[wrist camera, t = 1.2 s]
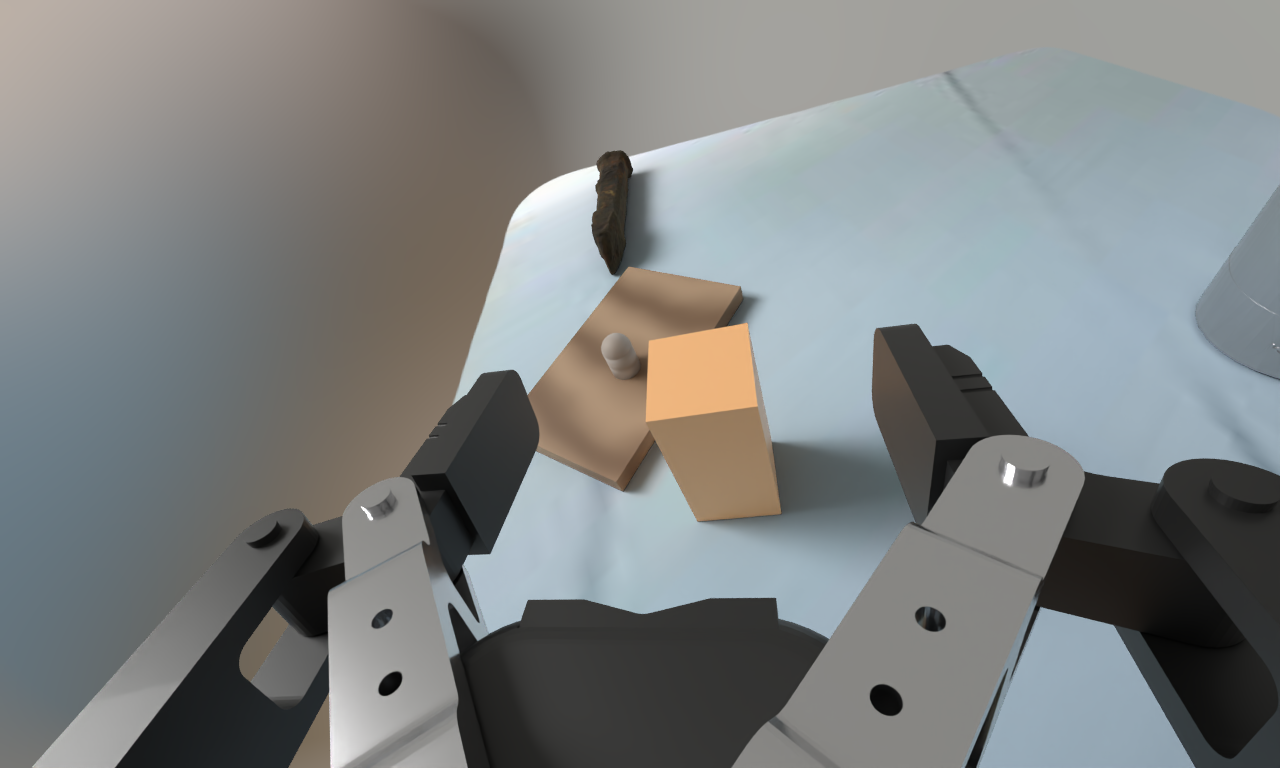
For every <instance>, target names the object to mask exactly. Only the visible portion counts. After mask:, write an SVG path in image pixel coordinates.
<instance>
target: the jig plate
mask: <svg viewBox="0 0 1280 768" xmlns="http://www.w3.org/2000/svg"><path fill="white" fill-rule="evenodd" d="M742 300H743V296H742V291H741V287H740V286H735V285H729V284H723V283H718V282H712V281H707V280H701V279H695V278H690V277H684V276H678V275H673V274H667V273H662V272H656V271H650V270H645V269H639V268H634V267H628V268H627V269H626V270H625V272H624V273H623V274H622V276H621V277H620V278H619V279H618V281H617V282H616V283H615V285H614V286H613V287H612V288H611V290H610V291H609V292H608V293H607V295H606V296H605V297H604V299H603V300H602V301H601V302H600V304H599V305H598V306H597V307H596V309H595V310H594V311H593V313H592V314H591V315H590V316H589V318H588V319H587V320H586V322H585V323H584V324H583V325H582V327H581V328H580V329H579V330H578V332H577V333H576V334H575V336H574V337H573V338H572V339H571V341H570V342H569V343H568V344H567V346H566V347H565V348H564V350H563V351H562V352H561V353H560V355H559V356H558V357H557V359H556V360H555V361H554V362H553V364H552V365H551V366H550V367H549V369H548V370H547V371H546V373H545V374H544V375H543V376H542V378H541V379H540V380H539V381H538V383H537V384H536V385H535V387H534V388H533V389H532V390H531V392H530V393H529V394H528V398H529V401H530V403H531V406H532V408H533V411H534V413H535V416H536V418H537V421H538V424H539V433H540V436H539V443H538V447H537V449H536V451H537V452H539V453H541V454H544V455H546V456H548V457H550V458H552V459H554V460H556V461H558V462H561V463H563V464H565V465H567V466H569V467H571V468H573V469H576V470H578V471H580V472H582V473H584V474H586V475H588V476H591V477H593V478H595V479H597V480H599V481H601V482H603V483H605V484H608V485H610V486H612V487H614V488H616V489H618V490H620V491H624V489H625V488H626V486H627V484H628V483H629V481H630V480H631V478H632V476H633V475H634V473H635V472H636V470H637V468H638V467H639V465H640V464H641V462H642V460H643V459H644V457H645V456H646V454H647V452H648V451H649V449H650V448H651V446H652V444H653V443H654V441H655V439H654V437H653V435H652V433H651V431H650V429H649V428H648V426H647V424H646V399H647V373H648V348H649V341H650V340H656V339H661V338H667V337H672V336H678V335H683V334H689V333H694V332H700V331H705V330H711V329H717V328H722V327H726V326H727V324H728V323H729V321H730V320H731V318H732V316H733V315H734V313H735V312H736V310H737V308H738V307H739V305H740V304H741V302H742Z"/></svg>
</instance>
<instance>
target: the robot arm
mask: <svg viewBox="0 0 1280 768" xmlns="http://www.w3.org/2000/svg"><path fill="white" fill-rule="evenodd" d="M1195 316H1196V320H1197V324H1198V327H1199V329H1200V330H1201V332H1202V333H1203V335H1204V336H1205V338H1206V339H1207V340H1208V341H1209V342H1210V343H1211V344H1212V345H1214V346H1215V347H1216V348H1217V349H1218V350H1219V351H1221V352H1222V353H1224V354H1225V355H1227V356H1228V357H1230V358H1231V359H1233V360H1234V361H1236V362H1238V363H1240V364H1242V365H1244V366H1246V367H1248V368H1251V369H1253V370H1255V371H1258V372H1260V373H1263V374H1266V375H1269V376H1272V377H1275V378H1278V379H1280V184H1279V186H1278V187H1277V189H1276V190H1275V192H1274V193H1273V194H1272V196H1271V197H1270V199H1269V200H1268V202H1267V203H1266V205H1265V206H1264V207H1263V209H1262V210H1261V212H1260V213H1259V215H1258V216H1257V217H1256V219H1255V220H1254V222H1253V223H1252V225H1251V226H1250V227H1249V229H1248V230H1247V232H1246V233H1245V235H1244V236H1243V237H1242V239H1241V240H1240V242H1239V243H1238V245H1237V246H1236V247H1235V248H1234V250H1233V251H1232V253H1231V254H1230V255H1229V257H1228V258H1227V260H1226V261H1225V263H1224V264H1223V266H1222V267H1221V268H1220V270H1219V271H1218V273H1217V274H1216V276H1215V277H1214V279H1213V280H1212V281H1211V283H1210V284H1209V286H1208V287H1207V289H1206V290H1205V292H1204V293H1203V294H1202V296H1201V298H1200V299H1199V301H1198V303H1197V305H1196V312H1195ZM872 400H873V408H874V413H875V417H876V420H877V423H878V426H879V428H880V431H881V433H882V436H883V439H884V441H885V444H886V446H887V449H888V452H889V454H890V457H891V459H892V462H893V465H894V467H895V470H896V472H897V475H898V478H899V480H900V483H901V485H902V488H903V491H904V493H905V496H906V498H907V501H908V504H909V506H910V509H911V511H912V514H913V517H914V519H915V522H916V523H914V522H910V523H908V524H907V525H906V526H905V527H904V528H903V530H902V531H901V532H900V534H899V535H898V537H897V538H896V540H895V541H894V543H893V544H892V546H891V547H890V549H889V550H888V552H887V553H886V555H885V556H884V558H883V559H882V561H881V562H880V564H879V565H878V567H877V569H876V570H875V572H874V573H873V575H872V576H871V578H870V579H869V581H868V582H867V584H866V585H865V587H864V588H863V590H862V591H861V593H860V594H859V596H858V597H857V599H856V600H855V602H854V603H853V605H852V606H851V608H850V609H849V611H848V612H847V614H846V615H845V617H844V618H843V620H842V621H841V623H840V624H839V626H838V627H837V629H836V630H835V632H834V633H833V635H832V636H831V638H830V639H828V638H827V637H825V636H823V635H821V634H819V633H817V632H815V631H813V630H811V629H808V628H806V627H803V626H800V625H798V624H795V623H792V622H789V621H785V620H781V619H778V611H777V603H776V598H710V599H706V600H702V601H698V602H694V603H690V604H686V605H682V606H677V607H673V608H669V609H665V610H661V611H657V612H653V613H649V614H637V613H633V612H629V611H626V610H622V609H618V608H614V607H610V606H607V605H603V604H599V603H595V602H591V601H588V600H528V601H527V604H526V607H525V610H524V613H523V616H522V619H521V621H518V622H515V623H512V624H510V625H507V626H505V627H502V628H500V629H498V630H496V631H494V632H492V633H490V634H489V633H488V630H487V627H486V624H485V621H484V618H483V615H482V612H481V609H480V606H479V603H478V600H477V597H476V594H475V591H474V588H473V585H472V582H471V579H470V576H469V573H468V571H467V570H466V568H465V566H464V565H463V564H464V562H465V560H466V557H467V555H479V554H490V553H491V551H492V549H493V547H494V544H495V542H496V540H497V538H498V535H499V533H500V531H501V528H502V526H503V524H504V522H505V519H506V517H507V515H508V513H509V510H510V508H511V506H512V503H513V501H514V499H515V497H516V494H517V492H518V490H519V488H520V485H521V483H522V481H523V478H524V476H525V474H526V472H527V469H528V467H529V465H530V463H531V460H532V458H533V456H534V453H535V451H536V449H537V447H538V443H539V436H540V433H539V424H538V421H537V418H536V416H535V413H534V411H533V408H532V406H531V403H530V401H529V398H528V395H527V393H526V390H525V388H524V385H523V383H522V380H521V378H520V376H519V374H518V373H517V372H516V371H514V370H506V371H497V372H489V373H483V374H481V375H480V377H479V378H478V379H477V381H476V382H475V384H474V385H473V387H472V388H471V390H470V391H469V392H468V394H467V395H465V396H464V397H462V398H461V399H460V400H459V401H457V402H456V403H455V404H454V405H452V406H451V407H450V408H449V409H448V410H447V411H446V413H445V414H444V416H443V417H442V418H441V420H440V421H439V422H438V426H437V427H435V428H434V429H433V431H432V432H431V434H430V435H429V439H426V441H425V442H424V444H423V445H422V446H421V448H420V449H419V450H418V452H417V453H416V455H415V456H414V457H413V459H412V460H411V462H410V463H409V464H408V466H407V467H406V469H405V470H404V471H403V473H402V474H401V476H400V477H396V478H390V479H386V480H383V481H381V482H378V483H376V484H374V485H372V486H370V487H369V488H367V489H366V490H364V491H363V492H361V493H360V494H359V495H358V496H356V497H355V498H354V499H353V501H351V502H350V504H349V505H348V506H347V508H346V510H345V511H344V514H343V516H341V517H338V518H335V519H332V520H328V521H325V522H322V523H318V524H315V525H312V524H311V523H310V521H309V520H308V519H307V518H306V516H305V515H304V514H303V513H302V512H301V511H300V510H298V509H284V510H280V511H277V512H275V513H272V514H269V515H267V516H265V517H263V518H262V519H260V520H258V521H256V522H255V523H254V524H252V525H250V526H249V527H248V528H247V529H245V530H244V531H243V532H242V533H241V534H240V535H239V536H238V537H237V538H236V539H235V540H234V541H233V542H232V543H231V544H230V545H229V547H228V548H227V549H226V550H225V551H224V552H223V553H222V554H221V555H220V557H219V558H218V559H217V560H216V561H215V562H214V563H213V564H212V566H211V567H210V568H209V569H208V570H207V571H206V572H205V573H204V575H203V576H202V577H201V578H200V579H199V580H198V581H197V582H196V584H195V585H194V586H193V587H192V588H191V589H190V591H188V593H187V594H186V595H185V596H184V597H183V598H182V599H181V600H180V602H179V603H178V604H177V605H176V606H175V607H174V608H173V609H172V611H171V612H170V613H169V614H168V615H167V616H166V617H165V618H164V620H163V621H162V622H161V623H160V624H159V625H158V626H157V627H156V629H155V630H154V631H153V632H152V633H151V634H150V635H149V636H148V638H147V639H146V640H145V641H144V642H143V643H142V644H141V646H140V647H139V648H138V649H137V650H136V651H135V652H134V653H133V654H132V656H131V657H130V658H129V659H128V660H127V661H126V662H125V663H124V665H123V666H122V667H121V668H120V669H119V670H118V671H117V673H115V675H114V676H113V677H112V678H111V679H110V680H109V681H108V683H107V684H106V685H105V686H104V687H103V688H102V689H101V691H99V693H98V694H97V695H96V696H95V697H94V698H93V699H92V700H91V702H90V703H89V704H88V705H87V706H86V707H85V708H84V710H83V711H82V712H81V713H80V714H79V715H78V716H77V717H76V718H75V720H74V721H73V722H72V723H71V724H70V725H69V726H68V728H67V729H66V730H65V731H64V732H63V733H62V734H61V735H60V736H59V738H58V739H57V740H56V741H55V742H54V743H53V744H52V746H51V747H50V748H49V749H48V750H47V751H46V752H45V753H44V754H43V756H42V757H41V758H40V759H39V760H38V761H37V762H36V763H35V765H34V766H33V767H32V768H288V767H289V765H290V763H291V762H292V760H293V758H294V756H295V754H296V752H297V751H298V748H299V747H300V745H301V743H302V741H303V739H304V738H305V736H306V734H307V732H308V730H309V728H310V726H311V725H312V723H313V721H314V719H315V717H316V715H317V714H318V712H319V710H320V708H321V706H322V704H323V702H324V701H325V699H326V697H327V695H328V693H329V695H330V697H329V698H330V748H331V749H330V753H331V768H978V767H979V765H980V762H981V760H982V757H983V755H984V752H985V750H986V747H987V745H988V742H989V739H990V737H991V734H992V732H993V729H994V726H995V724H996V721H997V718H998V715H999V713H1000V710H1001V707H1002V705H1003V702H1004V699H1005V697H1006V694H1007V692H1008V689H1009V687H1010V684H1011V682H1012V679H1013V677H1014V674H1015V672H1016V670H1017V667H1018V665H1019V662H1020V660H1021V657H1022V655H1023V652H1024V650H1025V647H1026V645H1027V642H1028V640H1029V637H1030V635H1031V633H1032V630H1033V628H1034V625H1035V623H1036V620H1037V618H1038V615H1039V613H1040V610H1041V608H1042V607H1043V608H1047V609H1051V610H1055V611H1059V612H1063V613H1067V614H1071V615H1075V616H1079V617H1083V618H1087V619H1091V620H1095V621H1099V622H1104V623H1108V624H1112V625H1114V626H1115V628H1116V630H1117V631H1118V633H1119V635H1120V637H1121V638H1122V640H1123V642H1124V644H1125V645H1126V647H1127V649H1128V651H1129V652H1130V654H1131V656H1132V658H1133V659H1134V661H1135V663H1136V665H1137V666H1138V668H1139V670H1140V672H1141V673H1142V675H1143V677H1144V678H1145V680H1146V682H1147V684H1148V685H1149V687H1150V689H1151V691H1152V692H1153V694H1154V696H1155V698H1156V699H1157V701H1158V703H1159V705H1160V706H1161V708H1162V710H1163V712H1164V713H1165V715H1166V717H1167V719H1168V720H1169V722H1170V724H1171V726H1172V727H1173V729H1174V731H1175V733H1176V734H1177V736H1178V738H1179V740H1180V741H1181V743H1182V745H1183V747H1184V748H1185V750H1186V752H1187V754H1188V755H1189V757H1190V759H1191V761H1192V762H1193V764H1194V766H1195V768H1280V476H1279V475H1276V474H1274V473H1272V472H1269V471H1267V470H1264V469H1261V468H1258V467H1255V466H1251V465H1247V464H1243V463H1239V462H1234V461H1228V460H1220V459H1191V460H1186V461H1181V462H1179V463H1176V464H1174V465H1172V466H1171V467H1169V468H1168V469H1167V471H1166V472H1165V474H1164V476H1163V478H1162V480H1161V482H1160V484H1158V483H1151V482H1144V481H1137V480H1130V479H1123V478H1116V477H1109V476H1103V475H1097V474H1092V473H1088V472H1085V471H1083V469H1082V467H1081V465H1080V464H1079V463H1078V461H1077V460H1076V459H1075V458H1074V457H1073V456H1072V455H1070V454H1069V453H1067V452H1066V451H1065V450H1063V449H1061V448H1059V447H1058V446H1056V445H1053V444H1051V443H1049V442H1046V441H1043V440H1040V439H1036V438H1032V437H1029V436H1028V435H1027V433H1026V432H1025V431H1024V429H1023V428H1022V427H1021V425H1020V424H1019V423H1018V421H1017V420H1016V419H1015V417H1014V416H1013V414H1012V413H1011V412H1010V410H1009V409H1008V408H1007V406H1006V405H1005V404H1004V402H1003V401H1002V400H1001V398H1000V397H999V396H998V394H997V393H996V391H995V390H992V386H991V385H990V383H989V382H988V381H987V379H986V378H985V377H983V376H982V373H981V371H980V370H979V368H978V367H977V366H976V364H975V363H974V362H973V360H972V359H971V358H970V357H969V356H967V355H965V354H964V353H962V352H960V351H958V350H957V349H955V348H953V347H951V346H950V345H941V346H931V344H930V342H929V341H928V339H927V338H926V336H925V335H924V333H923V332H922V330H921V329H920V327H919V326H918V325H917V324H909V325H900V326H892V327H883V328H877V329H876V330H875V334H874V348H873V377H872ZM271 607H273V608H274V609H275V610H276V611H277V612H278V613H279V614H280V615H281V616H282V617H283V618H284V619H285V620H286V621H287V622H288V623H289V626H288V627H287V629H286V630H285V632H284V633H283V635H282V636H281V638H280V639H279V641H278V642H277V643H276V645H275V646H274V648H273V649H272V651H271V652H270V654H269V655H268V657H267V658H266V660H265V661H264V663H263V664H262V666H261V667H260V669H259V670H258V672H257V673H256V675H255V676H254V678H253V679H252V681H251V682H249V681H248V680H247V679H246V678H245V677H243V675H242V674H241V672H240V669H239V657H240V654H241V651H242V649H243V647H244V645H245V644H246V642H247V641H248V639H249V638H250V637H251V635H252V634H253V632H254V631H255V629H256V628H257V627H258V625H259V624H260V623H261V621H262V620H263V618H264V617H265V616H266V614H267V613H268V612H269V610H270V609H271Z"/></svg>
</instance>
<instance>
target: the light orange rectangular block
mask: <svg viewBox="0 0 1280 768" xmlns="http://www.w3.org/2000/svg"><path fill="white" fill-rule="evenodd" d="M646 424H647V426H648V428H649V429H650V431H651V433H652V435H653V437H654V439H655V441H656V443H657V445H658V447H659V449H660V451H661V452H662V454H663V456H664V458H665V460H666V462H667V464H668V466H669V468H670V470H671V472H672V473H673V475H674V477H675V479H676V481H677V483H678V485H679V487H680V489H681V491H682V493H683V494H684V496H685V498H686V500H687V502H688V504H689V506H690V508H691V510H692V512H693V514H694V516H695V517H696V519H697V521H709V520H721V519H732V518H744V517H756V516H767V515H779V514H781V506H780V499H779V492H778V484H777V477H776V470H775V462H774V455H773V448H772V441H771V436H770V431H769V426H768V421H767V416H766V411H765V406H764V402H763V397H762V392H761V387H760V382H759V377H758V372H757V367H756V363H755V358H754V353H753V348H752V343H751V338H750V333H749V328H748V323H744V324H739V325H733V326H728V327H722V328H717V329H711V330H705V331H700V332H694V333H689V334H683V335H678V336H672V337H667V338H661V339H656V340H650V341H649V348H648V373H647V399H646Z"/></svg>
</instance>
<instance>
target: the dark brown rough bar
mask: <svg viewBox="0 0 1280 768" xmlns="http://www.w3.org/2000/svg"><path fill="white" fill-rule="evenodd" d="M597 168H598V171H599V172H600V179H599V180H598V181H597V182H598V183H597V184H596V185H595V186H596V192H597V194H598V199H597V211H595V212H594V213H593V216H592V223H593V224H592V225H591V226H592V233H593V237H594V240H595V243H596V245H597V247H598V249H599V252H600V255H601V257H602V258H603V259H604V260H605V263H606V265H607V267H608V269H609V271H610V273H611V275H613V274H614V273H615V272H616V271H617V269H618V266H619V264H620V262H621V260H622V256H623V251H624V248H625V245H626V240H625V237H624V224H625V215H626V200H627V193H628V178H630V177H631V175H632V172H633V168H632V166H631V162H630V159H629V157H628V156H627V155H626V153H624V152H623V151H612V152H606V153H605V154H604V155H602V156H601V157H600V158H599V160H598V161H597Z"/></svg>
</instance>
